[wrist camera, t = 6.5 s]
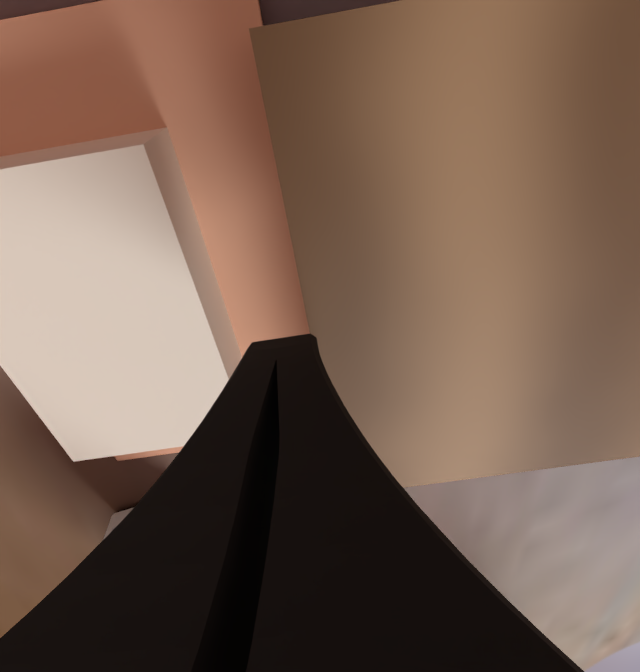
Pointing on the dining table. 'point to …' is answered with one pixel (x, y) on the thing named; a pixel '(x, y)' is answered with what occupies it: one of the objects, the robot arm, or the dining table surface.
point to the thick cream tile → (110, 296)
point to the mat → (183, 126)
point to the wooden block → (467, 224)
